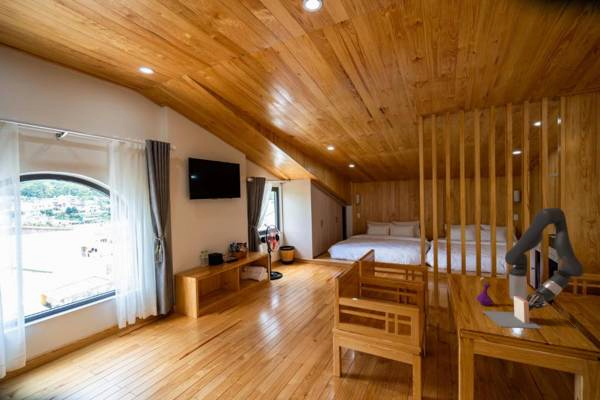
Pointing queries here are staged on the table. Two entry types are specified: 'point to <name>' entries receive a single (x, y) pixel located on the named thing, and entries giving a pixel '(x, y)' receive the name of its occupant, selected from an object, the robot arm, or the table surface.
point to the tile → (521, 309)
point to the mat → (509, 320)
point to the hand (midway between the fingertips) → (525, 310)
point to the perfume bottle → (485, 295)
